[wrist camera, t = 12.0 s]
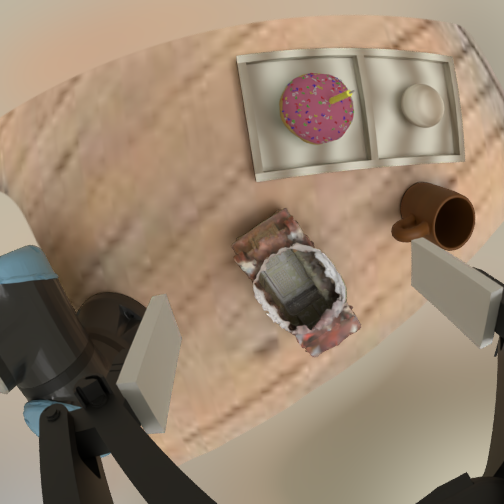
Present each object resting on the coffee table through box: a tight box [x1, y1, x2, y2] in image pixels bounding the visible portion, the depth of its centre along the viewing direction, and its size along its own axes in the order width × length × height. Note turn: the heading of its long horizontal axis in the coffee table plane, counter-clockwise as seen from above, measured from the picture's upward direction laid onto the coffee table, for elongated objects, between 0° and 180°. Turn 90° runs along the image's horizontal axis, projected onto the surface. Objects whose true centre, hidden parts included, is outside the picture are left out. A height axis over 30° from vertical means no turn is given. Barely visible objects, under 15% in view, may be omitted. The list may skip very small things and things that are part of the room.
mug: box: [391, 182, 475, 251], centre depth 38 cm, size 12×8×9 cm, turn 107°
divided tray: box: [236, 48, 465, 182], centre depth 37 cm, size 31×16×2 cm, turn 99°
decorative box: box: [231, 208, 381, 357], centre depth 41 cm, size 13×20×10 cm, turn 28°
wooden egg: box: [401, 84, 444, 128], centre depth 34 cm, size 6×6×6 cm
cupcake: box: [279, 73, 355, 145], centre depth 31 cm, size 9×8×12 cm
